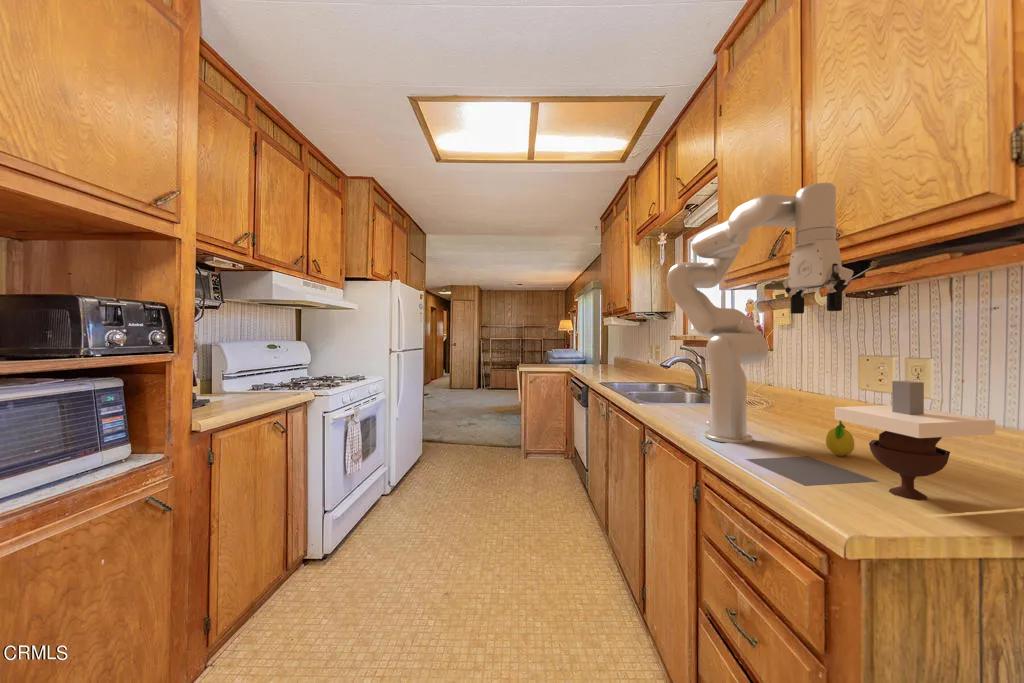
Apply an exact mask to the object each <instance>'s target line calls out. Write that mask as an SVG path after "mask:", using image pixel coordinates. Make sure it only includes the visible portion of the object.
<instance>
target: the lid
mask: <svg viewBox="0 0 1024 683" xmlns="http://www.w3.org/2000/svg"><path fill="white" fill-rule="evenodd" d="M891 383H892V384H891V385H892V388H891V391H892V392H891V393H892V394H891V395H892V396H891V397H892V398H891V400H892V402H891V403H892V404H885V405H883V404H882V405H881V404H880V405H861V406H859V405H858V406H854V405H853V406H835V407H834V420H835V421H836V420H837V421H839V422H840V421H841V422H845V423H850V424H853V425H859V426H863V427H868V428H870V429H871V428H872V429H876V430H877V429H878V430H881V431H889V432H894V433H898V434H902V435H907V436H911V437H916V438H933V437H942V438H947V437H948V438H951V437H967V436H968V437H971V436H989V435H991V436H992V435H996V419H991V418H984V417H978V416H971V415H967V414H966V415H965V414H958V413H952V412H948V411H941V410H934V409H928V408H925V407H924V406H925V401H924V400H925V399H924V398H925V394H924V393H925V391H924V390H925V389H924V388H925V385H924V384H925V382H923V381H921V382H920V381H913V380H911V381H910V380H893V381H892V382H891Z"/></svg>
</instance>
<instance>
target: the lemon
mask: <svg viewBox="0 0 1024 683" xmlns="http://www.w3.org/2000/svg"><path fill="white" fill-rule="evenodd" d="M845 428H846V425H844V424H843V423H842V421H840V420H839V424H838V425H836V427H834V428H831V429H830V430H829V431H828V432H827V434H826V438H825V444H826V447H827V449H828V450H829V451H830V452H832V453H833V454H835V455H836V456H838V457H844V456H848V455H850V454H851V453H853V452H854V449H855V440H854V439H855V438H854V437H853V435H852V433H851V432H850V431H849V430H847V429H845Z"/></svg>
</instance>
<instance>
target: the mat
mask: <svg viewBox="0 0 1024 683" xmlns="http://www.w3.org/2000/svg"><path fill="white" fill-rule="evenodd" d="M744 460H745V461H748V462H750V463H751V464H752V463H753V464H754V465H757V466H759V467H761V468H764V469H767V470H768V471H770V472H773V473H775V474H777V475H779V476H782V477H784V478H786V479H789V480H791V481H793V482H795V483H797V484H800V485H802V486H804V487H811V486H825V485H829V486H830V485H843V484H854V483H855V484H861V483H874V482H876V483H877V482H879V480H877V479H874V478H871V477H868V476H865V475H862V474H860V473H856V472H853V471H851V470H848V469H845V468H842V467H840V466H836V465H834V464H832V463H828V462H825V461H822V460H819V459H817V458H815V457H811V456H809V455H806V456H801V455H800V456H782V457H780V456H779V457H765V458H763V457H762V458H761V457H760V458H748V459H747V458H746V459H744Z"/></svg>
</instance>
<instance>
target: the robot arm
mask: <svg viewBox="0 0 1024 683" xmlns="http://www.w3.org/2000/svg"><path fill="white" fill-rule="evenodd" d="M762 226H763V227H778V228H787V229H792V228H794V229H795V230H794V231H795V235H794V236H795V237H794V241H793V244H794V246H795V247H794V248H792V251H791V255H790V260H789V265H788V267H789V268H788V277H787V278H786V279H784V281H783V282H782V285H783V287H784V290H785V292H786V294H787V295H788V298H790V314H795V315H797V314H804V313H805V297H802V296H803V295H804V294H805V292H806V291H807V290H810V289H818V288H826V289H827V290H828V292H827V293H826V311H827V312H841V311H842V310H843V293H845V292H846V288H847V287H848V286H849V285H850V283H851V280H852V278H853V275H854V270H852V269H850V268H847V267H844V266H843V265H842V257H841V256H842V255H841V250H840V246H839V242H838V241H837V240H836V239H837V189H836V185H834V184H833V183H830V182H817V183H813V184H809V185H806V186H804V187H801V188H800V189H799V190H797V192H796V194H795V195H786V194H776V193H775V194H774V193H768V194H762V195H759V196H756V197H753V198H751V199H750V200H748V201H746V202H743V203H742V204H740V205H738V206H737V207H736V208H735V209H734V210H733V211H732V212H731V214H730V216H729V218H728V219H727V220H726V221H723V222H720V223H719V224H717V225H715V226H712V227H711V228H708V229H706V230H704V231H702V232H700V233H699V234H697V235H696V236H695V237H694V239H693V240H692V242H691V250H692V252H693V253H694V254H695V255H696V256H697V257H700V258H703V259H709V260H708V262H695V261H694V262H693V261H687V262H685V261H684V262H679V263H677V264H673V266H671V267H670V268H669V270H668V273H667V276H666V285H667V290H668V293H669V295H670V297H671V298H672V300H673V301H674V302H675V303H676V304H677V306H678V307H679V308H680V309H681V311H683V314H685V316H686V318H687V319H688V321H689V323H691V325H692V327H693V328H694V329H695V331H696V332H697V333H698V334H699V335H700V336H701V337H703V338H706V339H707V338H708V341H707V342H706V347H705V351H706V356H707V361H708V367H709V385H710V386H709V390H710V391H709V393H710V395H709V402H710V403H709V404H710V406H709V407H710V409H709V413H710V419H709V420H706V422H705V424H706V426H708V427H709V428H708V430H706V431H705V432H704V437H705V438H707V439H709V440H712V441H715V442H720V443H725V444H728V443H729V444H748V443H752V442H754V441H753V440H754V439H753V438H754V437H753V435H750V434H749V433H747V432H748V431H747V430H748V429H747V428H748V427H747V426H748V425H747V424H748V423H747V421H748V420H747V418H748V417H747V414H748V413H747V409H748V408H747V407H748V406H747V404H748V403H747V402H748V401H747V400H748V398H747V397H748V395H747V393H748V392H747V387H748V386H747V377H746V374H745V371H744V370H743V368H742V365H753V364H758V363H760V362H761V363H762V362H763V361H764V360H765V359H766V358H767V356H768V355H769V345H768V342H767V340H766V338H765V336H763V335H764V334H762V333H761V332H760V330H759V329H758V328H757V327H756V326H755V325H754V323H753V322H752V321H751V320H750V319H749V318H748V316H747V315H746V314H745V312H742V311H741V310H738V309H736V308H730V307H729V308H725V307H718V306H716V305H714V304H713V302H712V301H711V300H710V299H709V297H708V296H707V295H706V294H704V292H702V291H700V290H699V289H712V288H714V287H716V286H718V285H719V284H720V283H721V282H722V280H723V279H724V277H725V276H726V275H727V272H729V269H730V267H731V266H732V265H733V263H734V261H735V260H736V258H737V256H738V255H739V252H740V251H741V250H740V249H741V247H743V246H745V245H746V244H747V243H748V241H749V239H750V237H751V230H753V229H756V228H758V227H762Z"/></svg>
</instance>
